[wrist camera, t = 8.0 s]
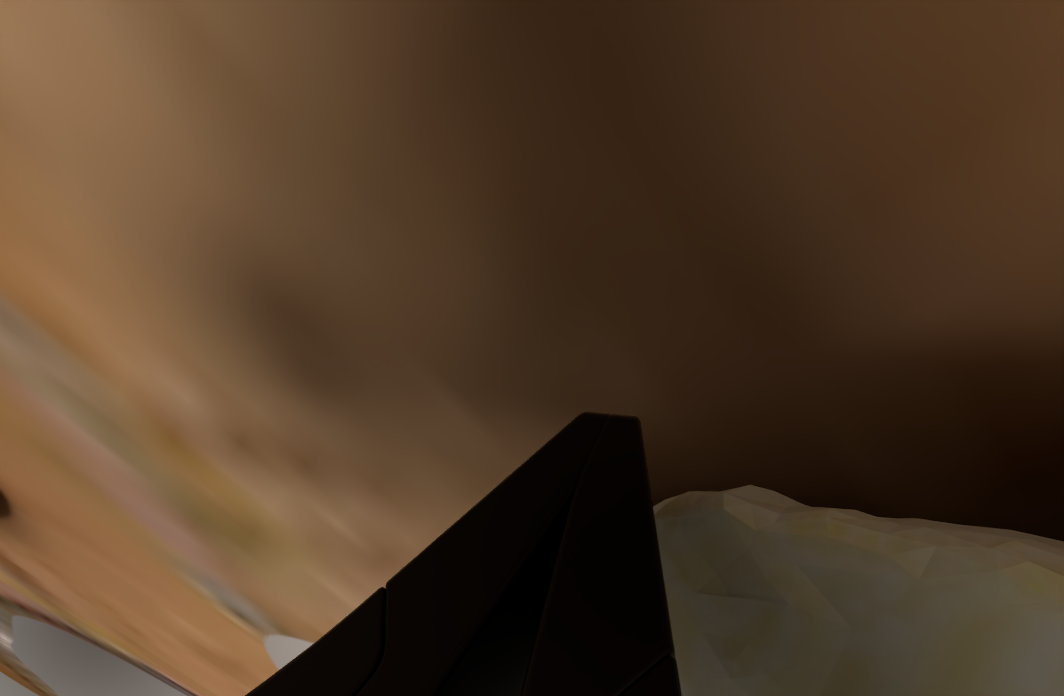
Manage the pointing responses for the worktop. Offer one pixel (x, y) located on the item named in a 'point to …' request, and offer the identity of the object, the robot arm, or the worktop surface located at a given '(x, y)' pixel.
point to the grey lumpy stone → (855, 601)
